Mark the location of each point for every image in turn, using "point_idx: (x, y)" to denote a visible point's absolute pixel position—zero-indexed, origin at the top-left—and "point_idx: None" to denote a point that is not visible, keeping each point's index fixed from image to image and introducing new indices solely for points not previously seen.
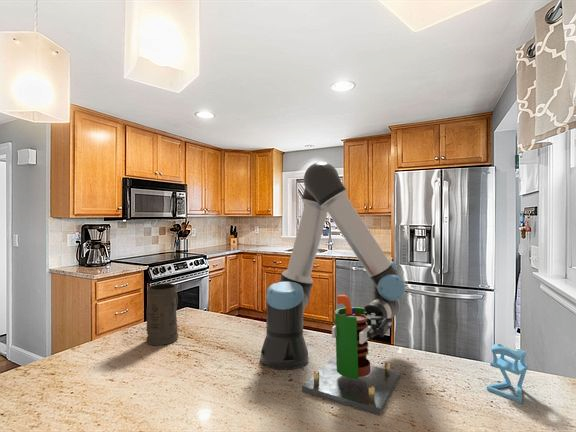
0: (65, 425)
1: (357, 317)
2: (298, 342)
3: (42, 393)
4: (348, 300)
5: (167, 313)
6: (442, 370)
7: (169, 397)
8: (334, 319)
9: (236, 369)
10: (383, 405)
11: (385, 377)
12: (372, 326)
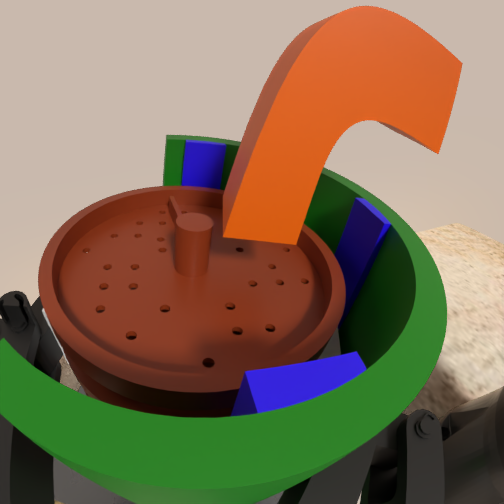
0: (443, 227)
1: (152, 306)
2: (476, 446)
3: (495, 248)
4: (287, 52)
5: None
6: None
7: (449, 271)
8: (430, 414)
9: (483, 365)
10: None
11: (81, 487)
12: (31, 311)
